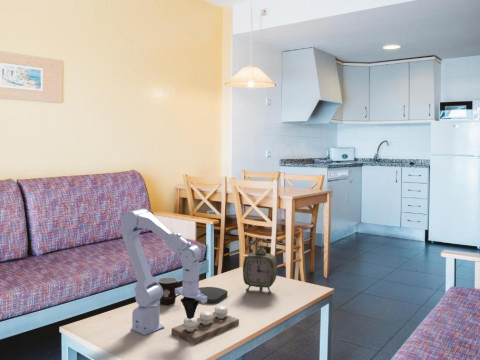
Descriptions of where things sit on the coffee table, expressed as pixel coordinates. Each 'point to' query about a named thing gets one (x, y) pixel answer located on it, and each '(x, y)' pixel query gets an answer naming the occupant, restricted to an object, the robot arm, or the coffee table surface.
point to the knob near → (190, 324)
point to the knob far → (221, 311)
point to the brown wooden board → (205, 329)
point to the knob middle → (206, 317)
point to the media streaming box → (213, 294)
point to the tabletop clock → (259, 268)
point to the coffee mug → (168, 290)
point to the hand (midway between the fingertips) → (190, 317)
